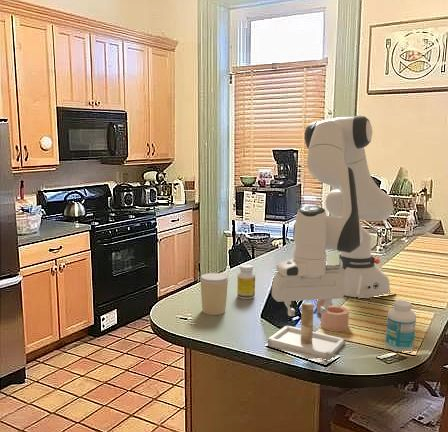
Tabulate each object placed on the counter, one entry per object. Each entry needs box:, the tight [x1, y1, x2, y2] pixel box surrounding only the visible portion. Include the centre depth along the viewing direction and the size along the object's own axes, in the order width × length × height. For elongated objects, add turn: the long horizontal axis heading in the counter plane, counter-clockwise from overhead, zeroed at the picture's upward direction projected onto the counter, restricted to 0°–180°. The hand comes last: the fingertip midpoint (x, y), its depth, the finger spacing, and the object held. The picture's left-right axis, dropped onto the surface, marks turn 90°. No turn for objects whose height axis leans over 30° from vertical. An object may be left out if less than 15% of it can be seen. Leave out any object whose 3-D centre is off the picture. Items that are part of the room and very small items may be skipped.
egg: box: [315, 299, 333, 316], centre depth 163 cm, size 5×5×7 cm
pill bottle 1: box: [236, 264, 256, 300], centre depth 182 cm, size 6×6×12 cm
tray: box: [267, 324, 346, 360], centre depth 140 cm, size 18×12×2 cm, turn 57°
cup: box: [320, 304, 350, 332], centre depth 153 cm, size 8×8×6 cm
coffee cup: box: [199, 272, 229, 316], centre depth 166 cm, size 9×9×12 cm
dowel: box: [300, 302, 315, 344], centre depth 139 cm, size 3×3×11 cm
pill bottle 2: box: [385, 299, 417, 352], centre depth 138 cm, size 8×7×14 cm
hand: (307, 314), depth 139 cm, fingers open, 8 cm apart
